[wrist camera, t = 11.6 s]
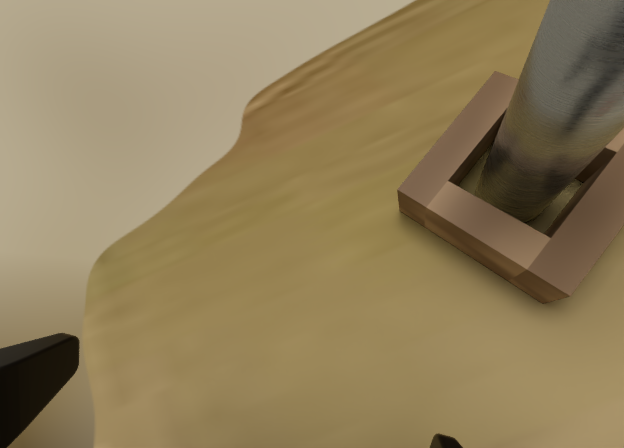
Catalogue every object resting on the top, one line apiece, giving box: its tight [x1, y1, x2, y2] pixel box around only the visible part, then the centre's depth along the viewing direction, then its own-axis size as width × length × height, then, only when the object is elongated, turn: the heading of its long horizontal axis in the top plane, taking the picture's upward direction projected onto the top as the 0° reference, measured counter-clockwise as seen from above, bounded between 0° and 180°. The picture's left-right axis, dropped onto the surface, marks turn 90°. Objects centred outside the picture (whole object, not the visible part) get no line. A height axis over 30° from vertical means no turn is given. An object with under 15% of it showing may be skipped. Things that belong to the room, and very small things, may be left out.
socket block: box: [397, 71, 624, 303], centre depth 16 cm, size 8×8×3 cm
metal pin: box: [475, 0, 624, 223], centre depth 12 cm, size 4×4×13 cm
